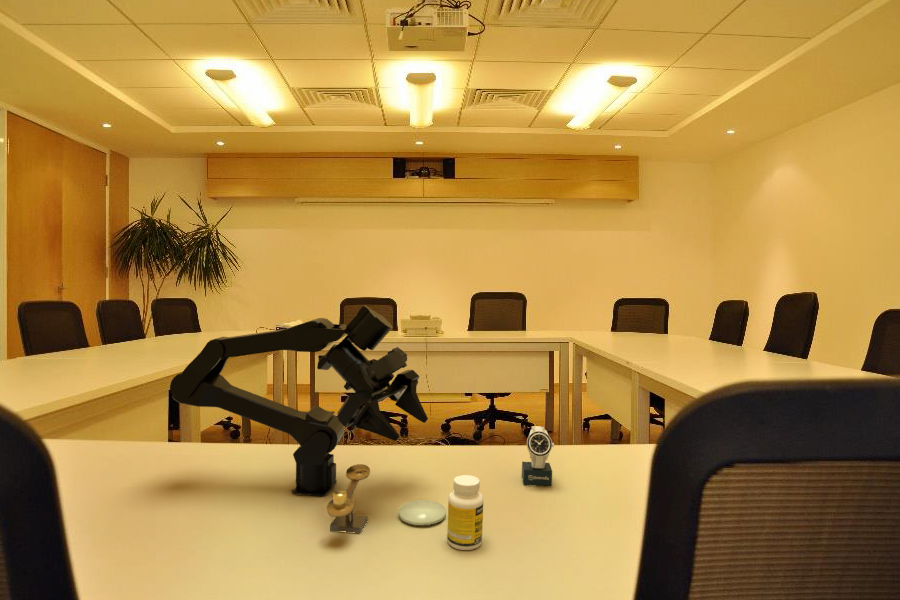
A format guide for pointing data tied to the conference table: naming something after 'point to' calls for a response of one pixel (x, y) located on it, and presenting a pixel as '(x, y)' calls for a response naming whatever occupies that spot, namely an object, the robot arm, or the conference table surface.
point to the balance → (348, 503)
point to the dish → (422, 512)
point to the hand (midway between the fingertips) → (412, 429)
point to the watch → (538, 458)
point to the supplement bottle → (465, 513)
